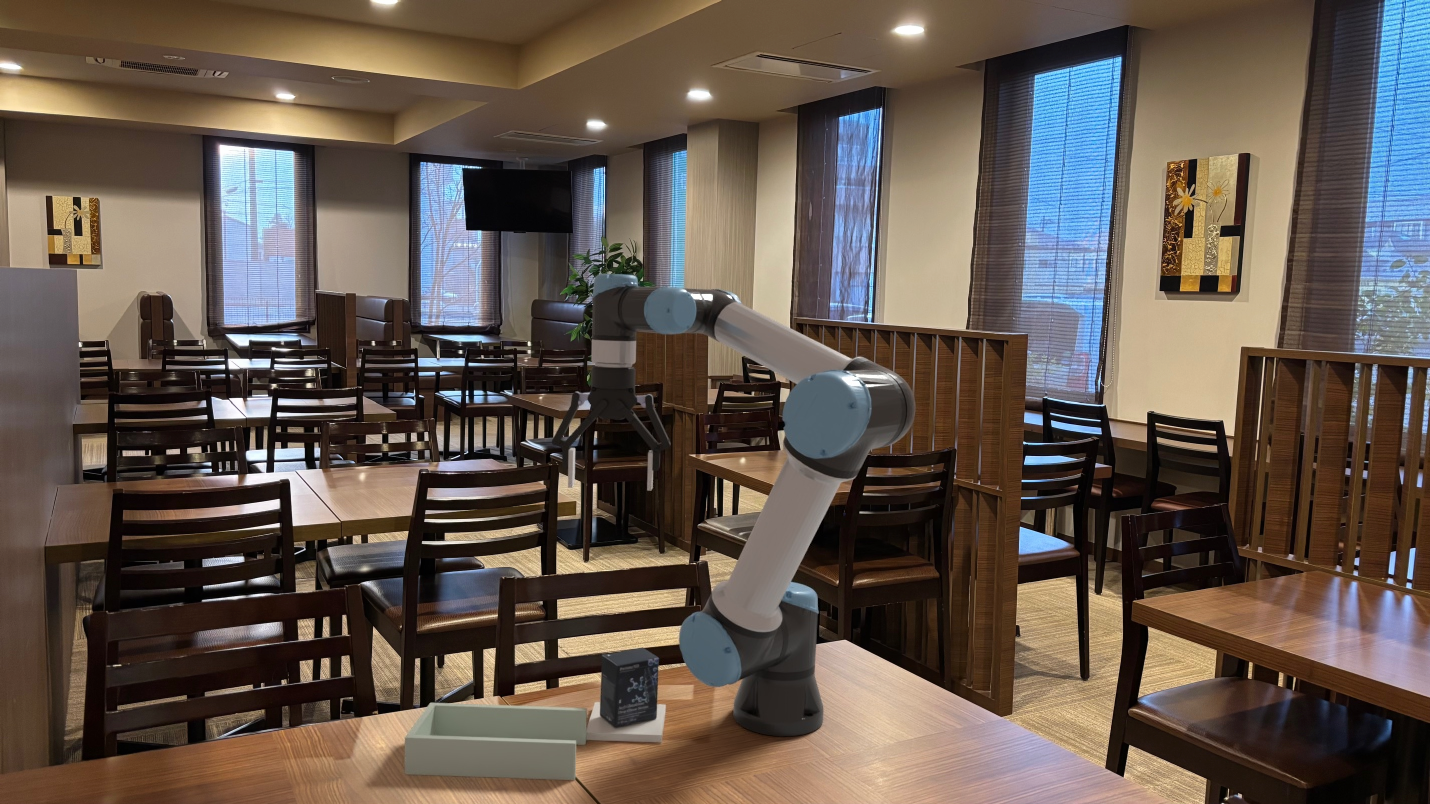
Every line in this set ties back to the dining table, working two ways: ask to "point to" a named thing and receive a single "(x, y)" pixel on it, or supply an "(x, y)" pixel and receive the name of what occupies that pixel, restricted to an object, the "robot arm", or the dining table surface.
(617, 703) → the box
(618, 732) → the plate
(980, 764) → the dining table surface
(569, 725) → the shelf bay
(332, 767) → the dining table surface
